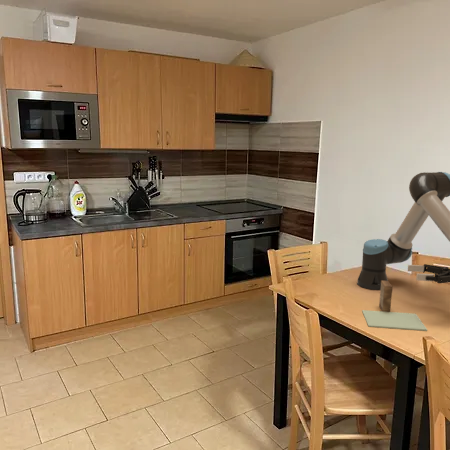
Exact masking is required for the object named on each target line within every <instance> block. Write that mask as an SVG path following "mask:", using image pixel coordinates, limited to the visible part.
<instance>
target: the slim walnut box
mask: <svg viewBox="0 0 450 450" xmlns="http://www.w3.org/2000/svg"><path fill="white" fill-rule="evenodd" d="M379 291H380V292H379V304H378V306H379V308H380V311H383V312H391V310H392V309H391V306H392V296H393V295H392V294H393V285H392V284H391V283H390V281H389V280H388V281H382V280H381V290H379Z"/></svg>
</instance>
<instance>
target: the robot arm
mask: <svg viewBox="0 0 450 450" xmlns="http://www.w3.org/2000/svg"><path fill="white" fill-rule="evenodd" d="M408 190H409V194H410V196H411V198H412V200H413V201H414V203H413V204H412V206H411V207H410V209H409V211H408V213H407V214H406V216H405V218H404V219H403V220H402V222H401V224H400V226H399V227H398V229H397V231H396V232H395V233H392V234H391V235H390V236H389V238H388V239H387V240H385V239H381V238H373V239H368V240H366V241H365V242H364V243H363V249H362V260H361V271H360V273H359V276H358V277H357V282H356V283H357V285H358V286H359V287H361V288H364V289H367V290H373V291H375V290H376V291H380V290H381V280H382V281H389V279H388V276H387V272H386V271H387V265H390V264H399V263H400V264H401V263H403V262H406V261H408V260H409V259H410V258H411V257H412V255H413V251H412V250H413V243H412V242H413V240H414V238H415V237H416V236H417V234H418V233H419V231H420V229H422V227H423V225H424V223H425V222H426V221H427V219H428V217H429V218H430V219H431V220H432V221H433V223H434V224H435V225H436V227H437V228H438V229H439V230H440V232H441V233H442V234H443V235H444V236H445V238H446V240H447V241H448V242H449V243H450V210H449V208H448V207H447V206H446V205H445V204H444V202H443V201H444V199H445V198H449V197H450V173H448V172H446V171H445V172H443V171H436V172H432V171H431V172H428V171H427V172H426V171H425V172H420V173H417V174H415V175H414V176H413V177H412V178H411V179H410V182H409V186H408ZM407 272H416V279H415V280H416V281H418V282H420V281H422V282H435V283H437V284H448V283H450V268H449V267H448V266H439V265H432V264H428V263H427V264H426V263H424V264H423V265H422V264H421V265H418V264H407ZM417 272H419V273H417ZM429 273H430V274H429Z"/></svg>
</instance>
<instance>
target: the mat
mask: <svg viewBox="0 0 450 450" xmlns="http://www.w3.org/2000/svg"><path fill="white" fill-rule="evenodd" d="M361 312H362V314H363V317H364V320H365V321H366V324H367V327H369V328H380V329H381V328H382V329H395V330H406V331H407V330H408V331H409V330H410V331H422V332H427V331H428V328H427V327H426V325H425V324H424V323H423V322H422V320H421V319H420V316H418V315H417V313H414V312H413V313H412V312H411V313H409V312H398V311H397V312H395V311H394V312H393V311H390V312H383V311H382V310H380V311H379V310H366V309H362V310H361Z"/></svg>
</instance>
